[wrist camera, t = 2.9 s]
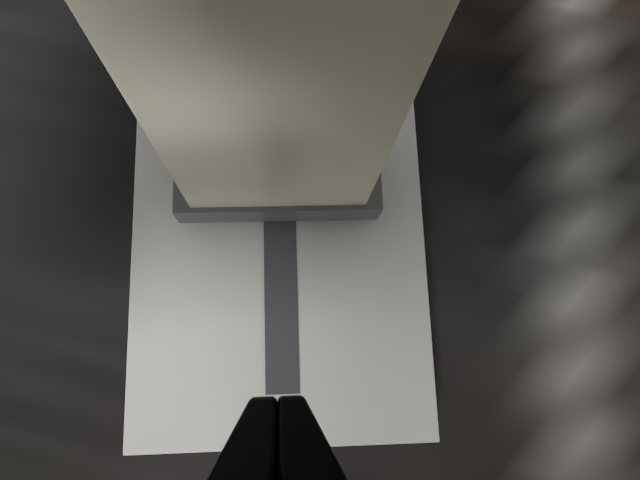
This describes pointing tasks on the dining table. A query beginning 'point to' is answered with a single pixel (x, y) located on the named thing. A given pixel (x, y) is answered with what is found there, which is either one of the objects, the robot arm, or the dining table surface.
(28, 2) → the dining table surface
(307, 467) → the robot arm
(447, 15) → the handle
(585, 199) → the dining table surface
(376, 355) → the fader deck
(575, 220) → the dining table surface
